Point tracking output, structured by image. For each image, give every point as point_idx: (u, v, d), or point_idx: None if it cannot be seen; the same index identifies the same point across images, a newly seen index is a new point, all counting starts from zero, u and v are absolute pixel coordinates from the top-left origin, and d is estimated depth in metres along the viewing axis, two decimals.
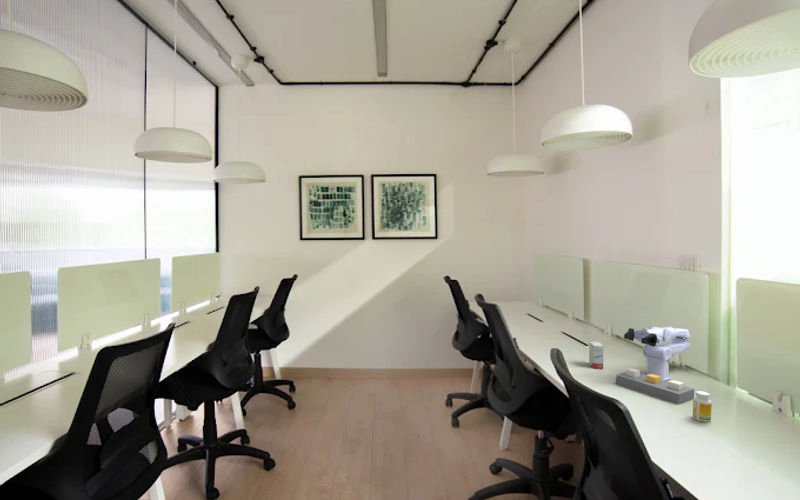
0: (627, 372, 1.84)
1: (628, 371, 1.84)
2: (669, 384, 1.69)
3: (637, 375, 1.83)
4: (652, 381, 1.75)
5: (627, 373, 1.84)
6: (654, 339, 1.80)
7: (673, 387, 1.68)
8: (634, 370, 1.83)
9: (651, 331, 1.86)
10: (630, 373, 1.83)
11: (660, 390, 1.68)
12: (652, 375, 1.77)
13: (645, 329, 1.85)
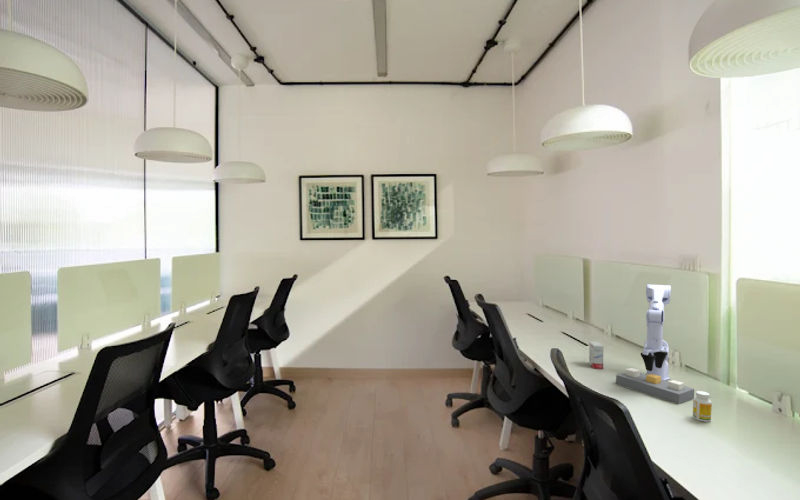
0: (627, 372, 1.84)
1: (628, 371, 1.84)
2: (669, 384, 1.69)
3: (637, 375, 1.83)
4: (652, 381, 1.75)
5: (627, 373, 1.84)
6: None
7: (673, 387, 1.68)
8: (634, 370, 1.83)
9: (662, 342, 1.74)
10: (630, 373, 1.83)
11: (660, 390, 1.68)
12: (652, 375, 1.77)
13: None
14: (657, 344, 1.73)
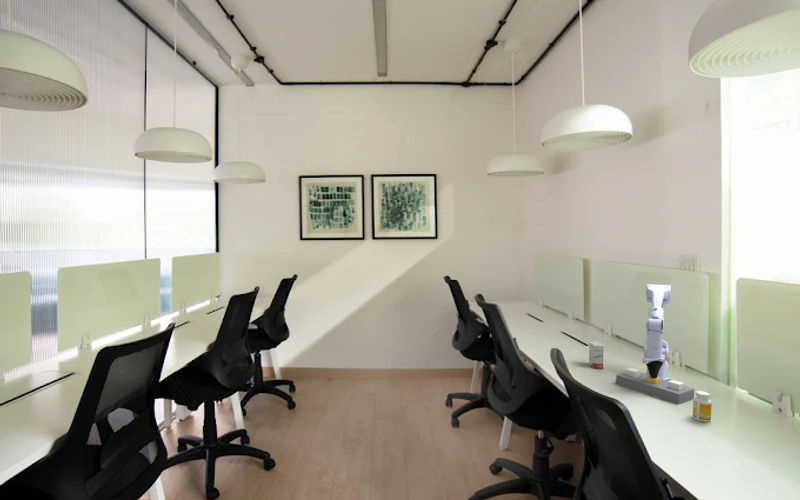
0: (627, 372, 1.84)
1: (628, 371, 1.84)
2: (669, 384, 1.69)
3: (637, 375, 1.83)
4: None
5: (627, 373, 1.84)
6: None
7: (673, 387, 1.68)
8: (634, 370, 1.83)
9: (662, 351, 1.74)
10: (630, 373, 1.83)
11: (660, 390, 1.68)
12: None
13: None
14: (657, 352, 1.73)
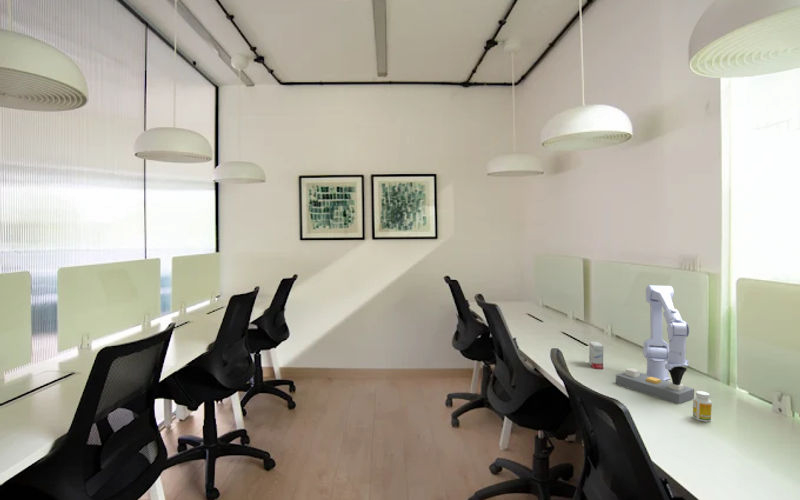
0: (627, 372, 1.84)
1: (628, 371, 1.84)
2: (669, 386, 1.69)
3: (637, 375, 1.83)
4: None
5: (627, 373, 1.84)
6: None
7: None
8: (634, 370, 1.83)
9: None
10: (630, 373, 1.83)
11: (660, 390, 1.68)
12: (652, 378, 1.77)
13: None
14: (681, 358, 1.65)
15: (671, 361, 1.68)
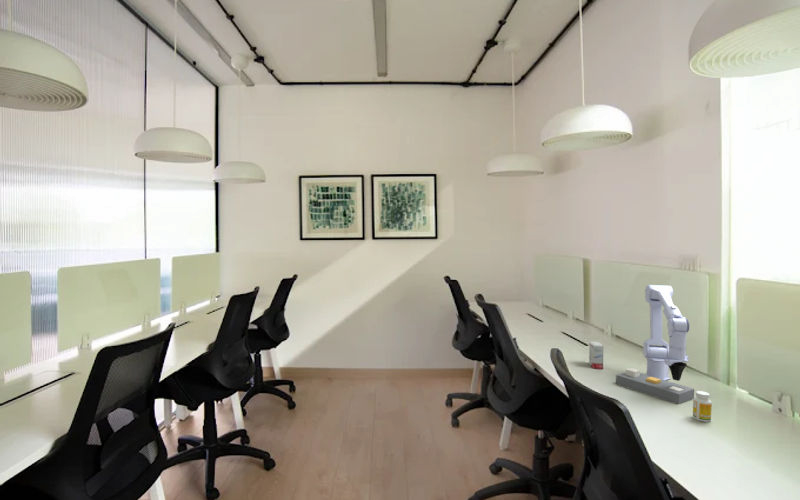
0: (627, 372, 1.84)
1: (628, 371, 1.84)
2: None
3: (637, 375, 1.83)
4: None
5: (627, 373, 1.84)
6: None
7: None
8: (634, 370, 1.83)
9: (685, 352, 1.67)
10: (630, 373, 1.83)
11: (660, 390, 1.68)
12: (652, 378, 1.77)
13: None
14: (681, 354, 1.65)
15: (671, 357, 1.67)
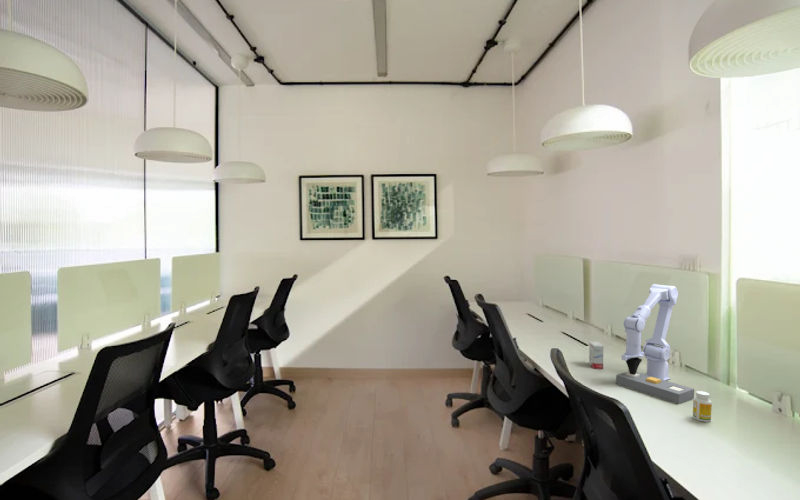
0: None
1: (628, 375, 1.84)
2: None
3: None
4: None
5: None
6: None
7: None
8: None
9: (640, 348, 1.82)
10: None
11: (660, 390, 1.68)
12: (652, 378, 1.77)
13: None
14: (636, 350, 1.81)
15: (628, 353, 1.83)
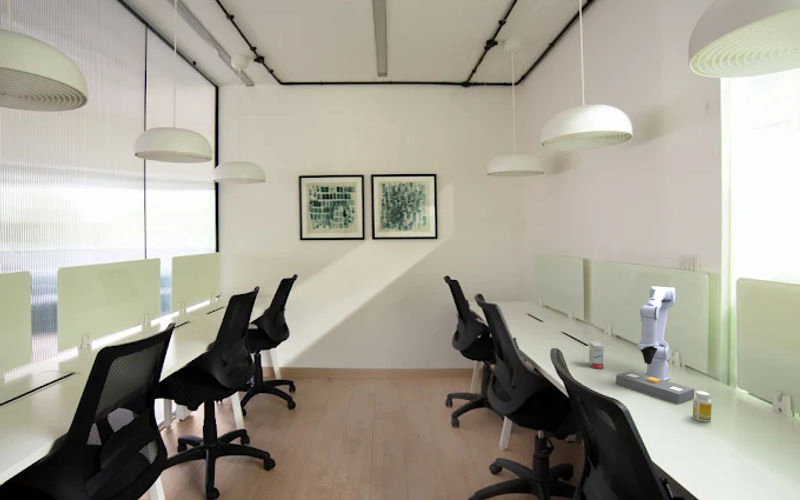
0: None
1: None
2: None
3: None
4: None
5: None
6: None
7: None
8: (634, 376, 1.83)
9: (656, 337, 1.79)
10: None
11: (660, 390, 1.68)
12: (652, 378, 1.77)
13: (657, 345, 1.78)
14: (652, 338, 1.78)
15: (643, 342, 1.80)
